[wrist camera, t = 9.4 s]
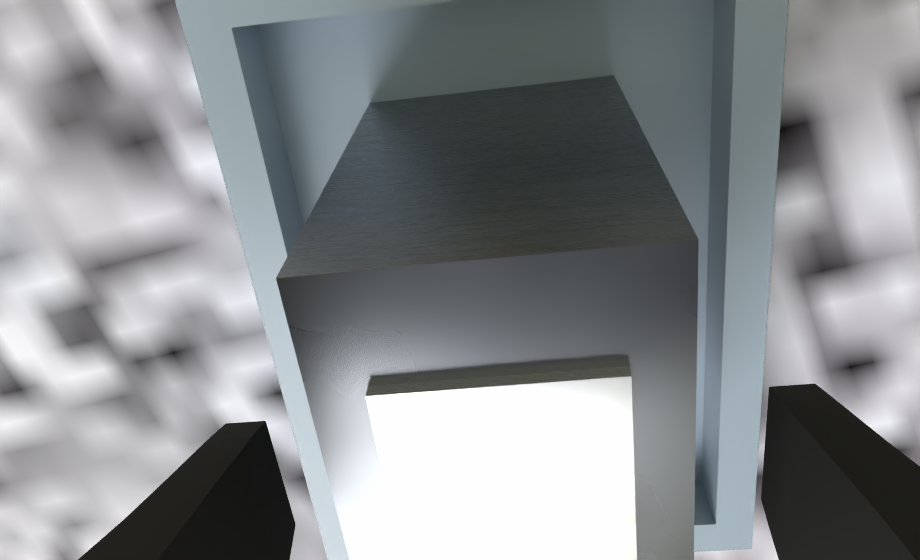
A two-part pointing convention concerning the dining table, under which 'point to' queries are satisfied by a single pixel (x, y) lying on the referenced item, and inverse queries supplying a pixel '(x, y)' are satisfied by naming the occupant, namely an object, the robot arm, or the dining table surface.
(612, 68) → the pin tray
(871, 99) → the dining table surface
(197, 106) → the dining table surface
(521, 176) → the block
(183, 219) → the dining table surface
